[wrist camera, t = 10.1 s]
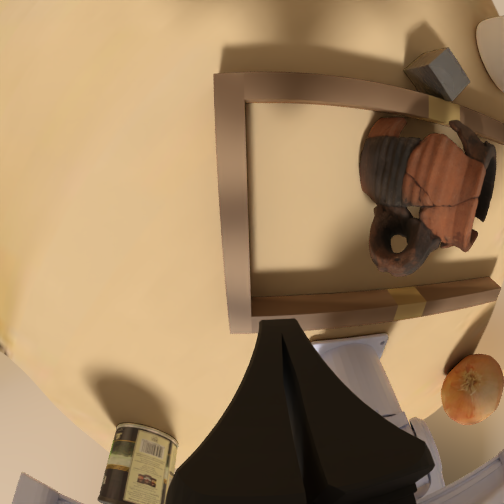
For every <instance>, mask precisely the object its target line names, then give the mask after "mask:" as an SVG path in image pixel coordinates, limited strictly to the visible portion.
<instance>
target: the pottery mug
mask: <svg viewBox="0 0 504 504" xmlns="http://www.w3.org/2000/svg"><path fill="white" fill-rule="evenodd" d="M406 124H407V122H406V120H405V118H403V117H388V118H380V119H379V120H378V121H377V122H376V123H375V124H374V126H373V127H372V128H371V130H370V133H369V135H368V138H367V139H366V141H365V145H364V148H363V151H362V153H361V162H360V170H359V173H360V181H361V187H362V190H363V191H364V192H365V193H366V194H367V195H369V196H370V197H371V199H372V200H373V201H375V203H376V204H377V206H376V207H375V208H374V214H375V217H374V220H373V222H372V226H371V230H370V236H369V250H370V255H371V258H372V260H373V262H374V263H375V264H376V266H377V268H378V270H379V271H381V272H389V273H391V274H392V275H393V276H396V277H400V276H406V275H409V274H412V273H413V272H415V271H416V270H417V269H418V268H419V267H420V266H421V265H422V264H423V263H424V261H425V260H426V258H427V257H428V255H429V254H430V253H431V252H432V251H434V250H436V249H437V248H438V247H439V245H440V242H441V241H442V242H441V248H449V247H451V246H456V247H458V248H460V249H461V250H462V251H464V252H467V251H468V250H469V249H470V248H471V246H472V245H473V243H474V241H475V240H476V238H477V236H478V232H477V231H475V230H473V229H472V226H473V222H474V217H477V218H478V219H480V220H481V221H482V222H484V220H485V218H486V215H487V212H488V209H489V205H490V200H491V198H492V193H493V188H494V181H495V175H496V149H495V147H494V145H492V144H490V143H488V142H487V141H486V142H485V143H482V142H481V141H480V139H479V138H478V136H477V135H476V134H475V133H474V132H473V131H472V130H471V129H470V128H469V127H467V126H465V125H464V124H463V123H461V122H460V121H459V120H451V121H449V126H450V127H451V128H452V129H453V130H454V131H456V132H457V133H458V136H459V138H460V139H461V141H462V144H463V147H464V151H465V153H464V152H463V151H462V149H461V148H459V147H458V146H457V145H456V144H455V143H454V142H453V141H452V140H450V139H449V138H448V137H447V136H446V135H444V134H438V133H433V134H429V135H428V136H427V137H425V138H424V140H421V139H420V138H413V137H409V138H405V137H400V138H399V136H400V133H401V131H402V129H403V128H404V126H405V125H406ZM406 206H417V207H420V212H419V218H420V219H417V218H413V216H412V214H411V213H410V211H409V210H408V209H407V207H406ZM394 235H401V236H403V237H406V239H407V243H408V245H407V247H406V248H405V249H404V250H403V251H402V252H400V253H394V252H393V251H392V248H391V238H392V237H393V236H394Z"/></svg>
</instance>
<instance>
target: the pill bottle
mask: <svg viewBox="0 0 504 504" xmlns="http://www.w3.org/2000/svg"><path fill="white" fill-rule="evenodd" d="M476 39H477V45H478V49H479V53H480V56H481V59H482V61H483V63H484V66H485V68H486V70H487V72H488V74H489V75H490V77H491V79H492V80H493V82H494V83H495V84H496V86H497V87H498V88H499V89H500V90H501V91H503V92H504V16H499V17H494V18H489V19H486V20H483V21H481V22H480V23H479V25H478V26H477V30H476Z"/></svg>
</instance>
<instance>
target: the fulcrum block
mask: <svg viewBox="0 0 504 504" xmlns="http://www.w3.org/2000/svg"><path fill="white" fill-rule="evenodd" d="M403 71H404V72H405V73H406V75H407V76H408V77H409V79H410V80H411V81H412V83H413V84H414V85H415V87H416V88H417V89H418V91H419V92H420V93H424V94H427V95H430V96H434V97H437V98H440V99H443V100H445V101H453V100H454V99H455V98H456V97H457V96H458V95H459V94H460V93H461V92H462V90H463V89H464V88H465V87H466V86H467V85H468V84H469V83H470V80H469V79H468V77H467V75H466V74H465V72H464V70H463V69H462V67H461V66H460V64H459V62H458V61H457V59H456V58H455V56H454V55H453V53H452V52H451V51H450V49H449V48H448V47H447V48H443V49H439V50H434V51H430V52H427V53H423V54H422V55H421V56H419V57H418V58H417V59H416V60H415V61H414V62H412V63H411V64H410V65H409V66H408V67H407V68H406V69H404V70H403Z"/></svg>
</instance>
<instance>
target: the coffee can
mask: <svg viewBox="0 0 504 504" xmlns="http://www.w3.org/2000/svg"><path fill="white" fill-rule="evenodd" d="M177 448H178V443H177V441H176V440H175V439H174V438H172V437H171V436H170V435H168V434H166V433H164V432H161V431H159V430H157V429H154V428H151V427H148V426H144V425H140V424H133V423H122V424H119V425H118V426H117V428H116V433H115V437H114V440H113V444H112V448H111V451H110V455H109V459H108V463H107V467H106V470H105V474H104V478H103V482H102V487H101V491H100V495H99V497H98V501H99V502H101V503H103V504H165V500H166V494H167V491H168V488H169V485H170V483H171V480H172V478H173V476H174V469H175V462H176V454H177Z"/></svg>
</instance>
